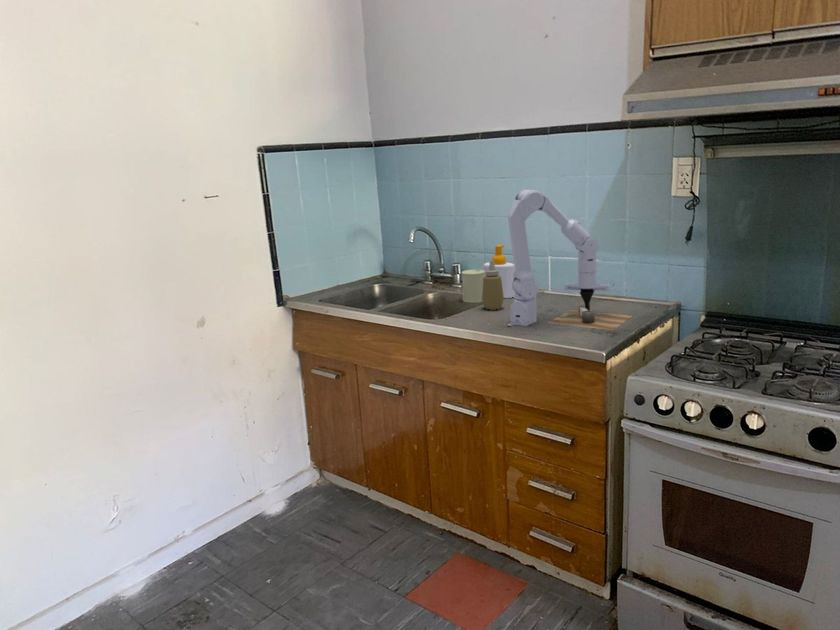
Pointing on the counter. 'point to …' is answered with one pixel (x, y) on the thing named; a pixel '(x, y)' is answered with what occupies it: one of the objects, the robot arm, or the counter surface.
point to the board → (600, 322)
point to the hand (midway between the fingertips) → (587, 311)
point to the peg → (586, 315)
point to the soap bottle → (503, 271)
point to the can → (472, 285)
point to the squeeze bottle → (492, 289)
